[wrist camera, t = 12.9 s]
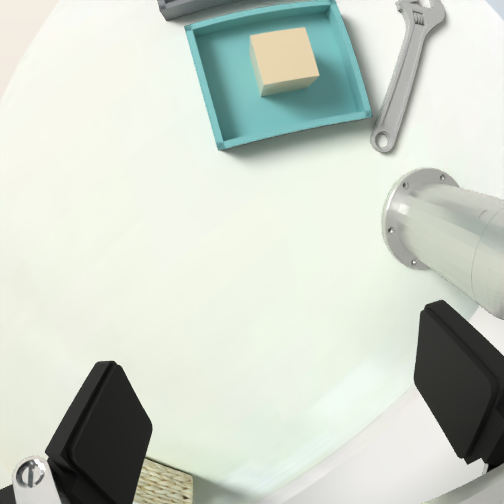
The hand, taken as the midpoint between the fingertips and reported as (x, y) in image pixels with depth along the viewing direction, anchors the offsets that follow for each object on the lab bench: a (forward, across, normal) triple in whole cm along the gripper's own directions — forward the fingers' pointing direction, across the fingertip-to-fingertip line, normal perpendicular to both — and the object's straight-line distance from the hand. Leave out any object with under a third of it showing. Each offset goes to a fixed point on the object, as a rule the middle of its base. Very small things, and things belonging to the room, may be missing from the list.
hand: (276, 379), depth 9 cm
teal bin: (+27, -5, -15) cm, 31 cm away
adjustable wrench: (+28, -21, -16) cm, 38 cm away
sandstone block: (+26, -5, -15) cm, 30 cm away
